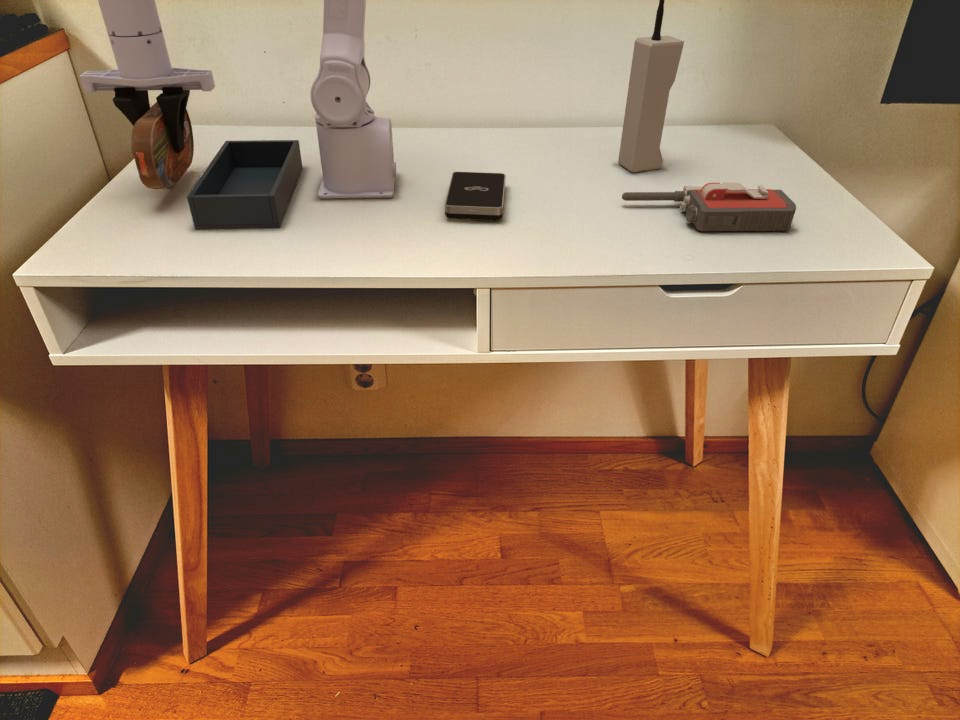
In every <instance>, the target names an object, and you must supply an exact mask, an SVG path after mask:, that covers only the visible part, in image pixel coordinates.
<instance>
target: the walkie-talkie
mask: <svg viewBox="0 0 960 720" xmlns="http://www.w3.org/2000/svg"><path fill="white" fill-rule="evenodd" d="M621 199H622V200H623V201H626V202H627V201H629V202H630V201H632V202H633V201H636V202H638V201H640V202H641V201H642V202H643V201H644V202H645V201H648V202H649V201H652V202H653V201H654V202H655V201H658V202H659V201H673V202H677V203H679V202H680V204H679V209H680V210H683V211H684V212H685V214H686V215H685V216H686V221H687V223H689V224H690V223H691V224H693V226H694V228H695V229H696V230H697V231H699V232H778V231H779V232H784V231H788V230H790V229H791V226H792V223H793V220H794V217H795V213H796V210H797V205H796V203H795V202H794V201H793V200H792V199H791V198H790V196H788V195H787V194H786V193H785V191H783V190H782V189H771V188H767V189H766V188H765V187H764V186H763V185H762V184H760V185H757V188H753V189H749V188H748V189H747V188H746V187H745V186H744V185H742V184H741V183H740V182H722V183H720V182H707V183H705V184H704V185H702V186H692V185H684V186H683V190H675V191H639V192H638V191H636V192H635V191H633V192H631V191H630V192H629V191H625V192H623V193H622V194H621Z"/></svg>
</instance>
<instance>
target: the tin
mask: <svg viewBox="0 0 960 720" xmlns="http://www.w3.org/2000/svg"><path fill="white" fill-rule="evenodd" d="M192 126H193V125H192V121H191V118H190V115H189V112H188V109H187V108H186V112H185V120H184V145H185V148H184V149H183V150H182V152H181V153H175V152H174V150H173V147H172V144H171V140H170V135H169V131H168V127H167V124H166V121H165V119H164V116H163V114H162V111H161V109H160V107H159V105H158V103H157V101H156V102H155V103H154V104H153V105H151V106H150V109H149V110H148V111H147V112H146V113H145V114H144V115H143V116H142V117H141V118H140V119H138V120H137V121H136V123H135V125H134V126H132V130H131V138H130V139H131V143H130V145H131V152H132V155H133V158H134V162H135V166H136V169H137V173H138V177H139V179H140V182H141V183H142V184H143V185H144V187H146V188H148V189H152V190H167V191H171V190H173V189H175V188H176V186H177V184H178V183H179V182H180V181H181V179H182V178H183V176H184V174H186V172H187V171H188V169H189V168H190V167H191V165H192V163H193V158H194V153H195V152H194V151H195V143H194V142H195V141H194V132H193V127H192Z"/></svg>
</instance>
